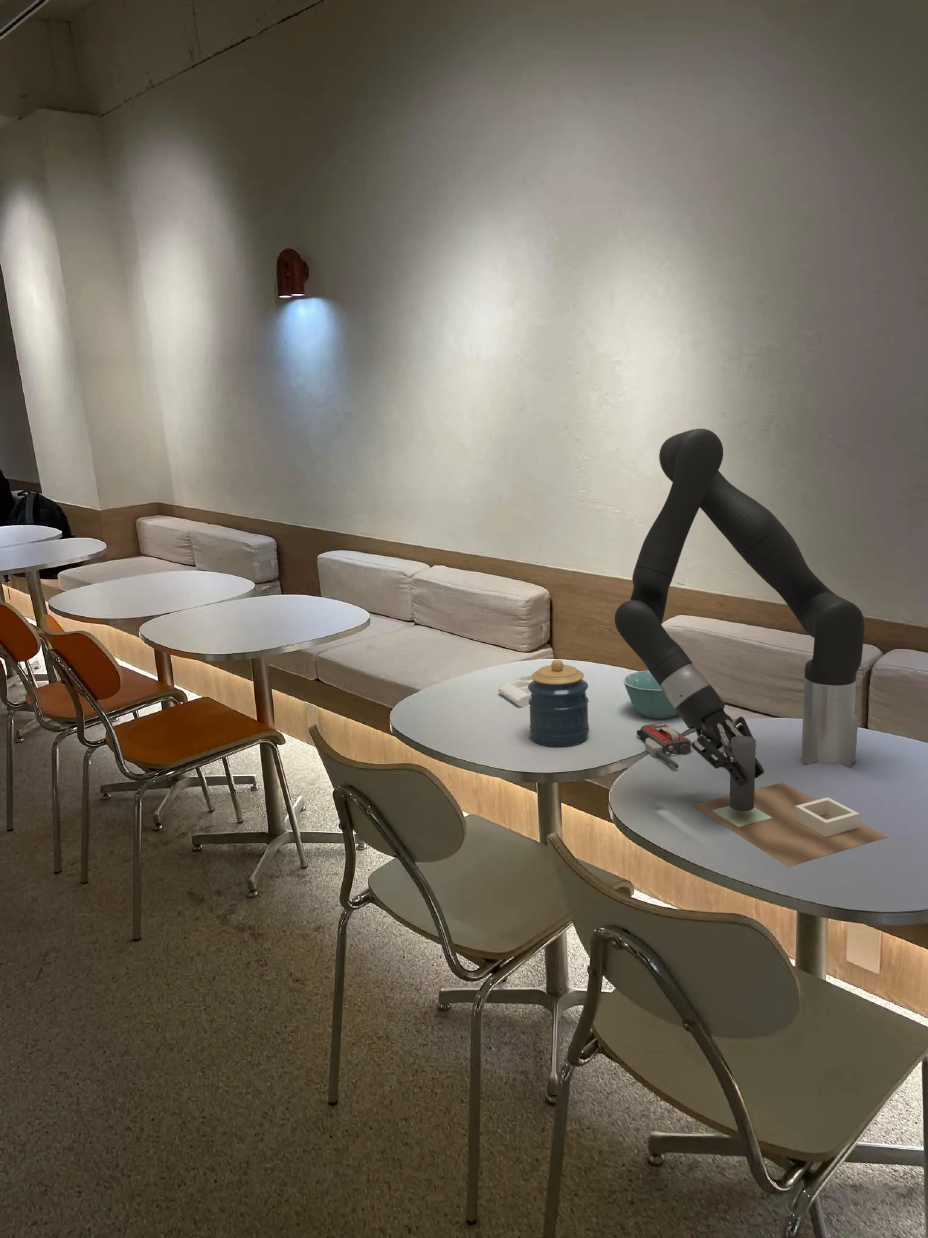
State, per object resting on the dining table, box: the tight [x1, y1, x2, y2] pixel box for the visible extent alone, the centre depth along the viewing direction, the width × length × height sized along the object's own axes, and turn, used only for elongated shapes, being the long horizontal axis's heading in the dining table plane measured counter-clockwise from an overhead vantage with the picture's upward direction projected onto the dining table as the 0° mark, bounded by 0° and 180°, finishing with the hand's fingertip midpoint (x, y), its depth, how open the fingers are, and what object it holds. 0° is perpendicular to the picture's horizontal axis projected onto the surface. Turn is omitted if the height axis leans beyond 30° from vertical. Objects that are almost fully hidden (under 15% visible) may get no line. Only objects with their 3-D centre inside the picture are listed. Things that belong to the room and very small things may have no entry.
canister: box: [528, 659, 590, 748], centre depth 195 cm, size 13×13×18 cm
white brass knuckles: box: [497, 674, 533, 708], centre depth 225 cm, size 3×18×15 cm
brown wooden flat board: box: [692, 782, 888, 868], centre depth 151 cm, size 20×24×2 cm
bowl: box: [623, 669, 679, 720], centre depth 208 cm, size 16×16×8 cm
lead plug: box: [729, 736, 757, 811], centre depth 152 cm, size 4×4×12 cm
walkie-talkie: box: [636, 722, 692, 769], centre depth 186 cm, size 9×4×20 cm
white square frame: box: [795, 796, 861, 837], centre depth 149 cm, size 7×7×2 cm
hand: (752, 779), depth 151 cm, fingers closed on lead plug, 4 cm apart
